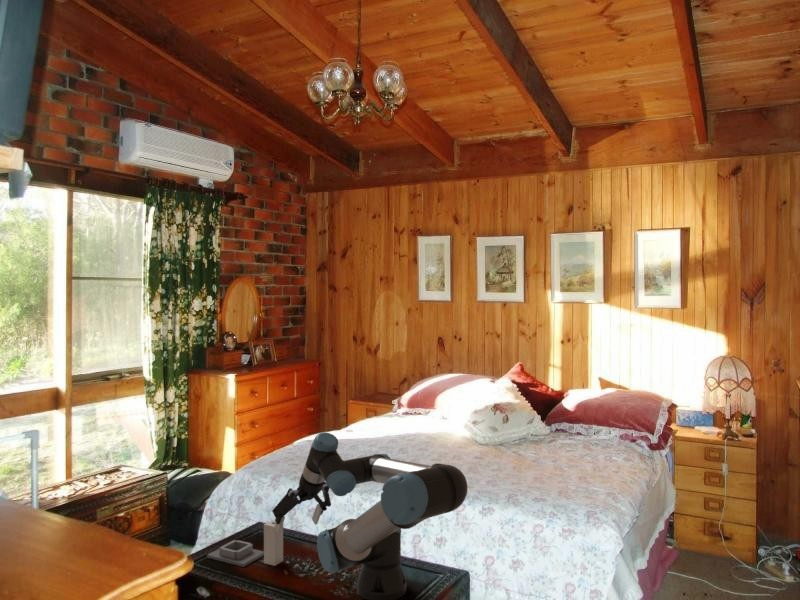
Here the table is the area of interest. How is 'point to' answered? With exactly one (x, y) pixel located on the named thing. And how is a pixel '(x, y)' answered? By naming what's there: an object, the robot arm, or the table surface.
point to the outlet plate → (236, 553)
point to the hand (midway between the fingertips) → (296, 525)
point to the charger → (273, 544)
